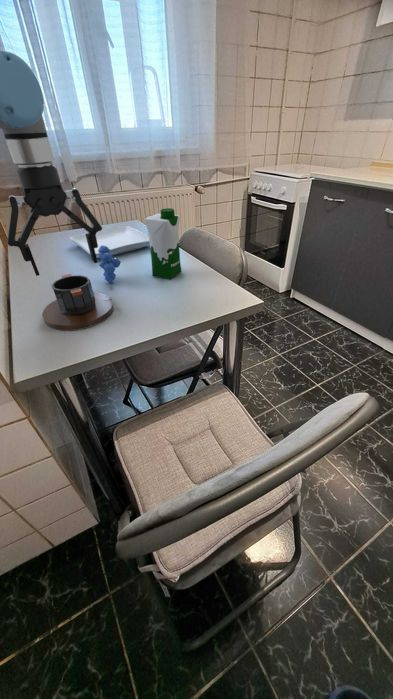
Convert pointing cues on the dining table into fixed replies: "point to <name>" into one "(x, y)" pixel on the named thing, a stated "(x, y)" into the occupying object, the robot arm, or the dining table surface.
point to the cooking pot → (74, 294)
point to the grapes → (108, 263)
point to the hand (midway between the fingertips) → (67, 267)
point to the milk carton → (164, 243)
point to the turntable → (80, 321)
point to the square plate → (115, 240)
